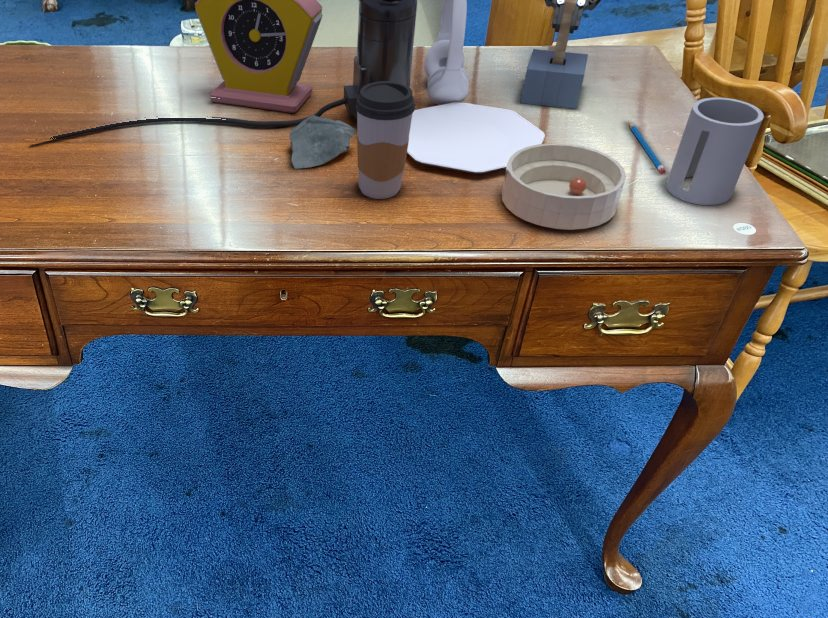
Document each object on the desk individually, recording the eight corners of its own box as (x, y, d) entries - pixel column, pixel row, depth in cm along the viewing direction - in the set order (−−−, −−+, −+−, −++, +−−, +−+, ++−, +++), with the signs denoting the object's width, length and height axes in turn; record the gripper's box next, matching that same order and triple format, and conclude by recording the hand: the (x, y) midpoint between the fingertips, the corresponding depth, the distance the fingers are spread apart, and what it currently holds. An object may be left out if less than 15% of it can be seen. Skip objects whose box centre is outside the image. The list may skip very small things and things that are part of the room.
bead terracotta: (570, 198, 118) (574, 183, 116) (565, 190, 120) (568, 175, 118) (586, 196, 118) (590, 182, 117) (580, 188, 120) (584, 174, 118)
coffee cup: (406, 176, 125) (415, 79, 115) (407, 203, 119) (417, 104, 109) (353, 175, 126) (357, 79, 115) (351, 202, 120) (355, 103, 109)
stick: (545, 96, 145) (564, 1, 134) (546, 92, 146) (565, -2, 135) (555, 97, 144) (576, 2, 133) (556, 93, 146) (576, -1, 134)
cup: (732, 181, 122) (764, 103, 113) (729, 209, 116) (762, 130, 107) (669, 170, 125) (695, 93, 116) (662, 197, 119) (689, 119, 110)
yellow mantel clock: (196, 100, 147) (184, -29, 132) (217, 81, 153) (207, -44, 138) (309, 116, 141) (310, -17, 126) (326, 95, 148) (328, -34, 132)
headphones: (426, 117, 140) (439, -7, 126) (421, 75, 153) (432, -42, 139) (467, 117, 140) (486, -7, 126) (459, 75, 153) (474, -42, 139)
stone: (357, 172, 129) (355, 128, 133) (356, 154, 125) (354, 109, 130) (291, 178, 130) (291, 134, 134) (288, 160, 126) (288, 115, 131)
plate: (552, 124, 137) (554, 116, 136) (523, 189, 121) (524, 180, 120) (418, 103, 144) (419, 95, 143) (374, 162, 129) (375, 153, 128)
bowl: (521, 237, 112) (528, 202, 108) (487, 181, 124) (493, 147, 120) (633, 228, 113) (645, 193, 109) (590, 173, 124) (599, 139, 121)
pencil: (660, 174, 124) (661, 170, 124) (626, 125, 136) (628, 121, 136) (665, 173, 124) (666, 169, 123) (631, 125, 136) (632, 121, 136)
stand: (520, 102, 143) (526, 68, 139) (526, 81, 150) (533, 48, 146) (576, 109, 141) (584, 74, 137) (580, 87, 147) (588, 54, 143)
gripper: (546, -88, 133) (523, 15, 134) (634, -83, 130) (610, 23, 130) (543, -60, 141) (521, 37, 141) (626, -55, 137) (603, 45, 137)
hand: (564, 30), depth 136 cm, fingers closed on stick, 2 cm apart
